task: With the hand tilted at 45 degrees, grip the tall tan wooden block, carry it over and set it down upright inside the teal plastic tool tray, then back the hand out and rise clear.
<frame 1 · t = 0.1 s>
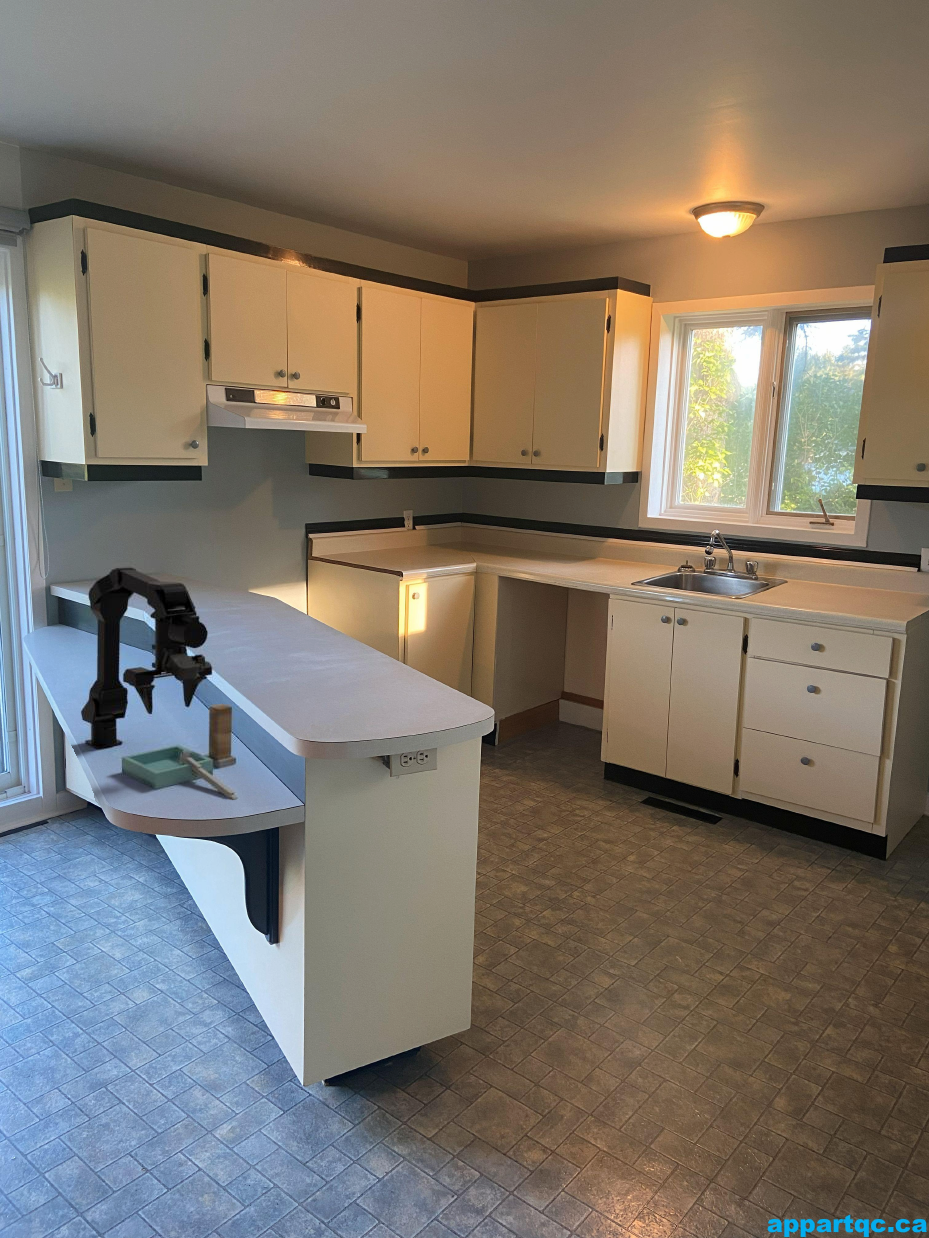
hand: (168, 710, 195), 15 cm above the table, tool pointing down, fingers open, 9 cm apart
tall tan wooden block: (219, 762, 207), on the table
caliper: (207, 788, 191), on the table, touching tool tray
tool tray: (167, 773, 197), on the table
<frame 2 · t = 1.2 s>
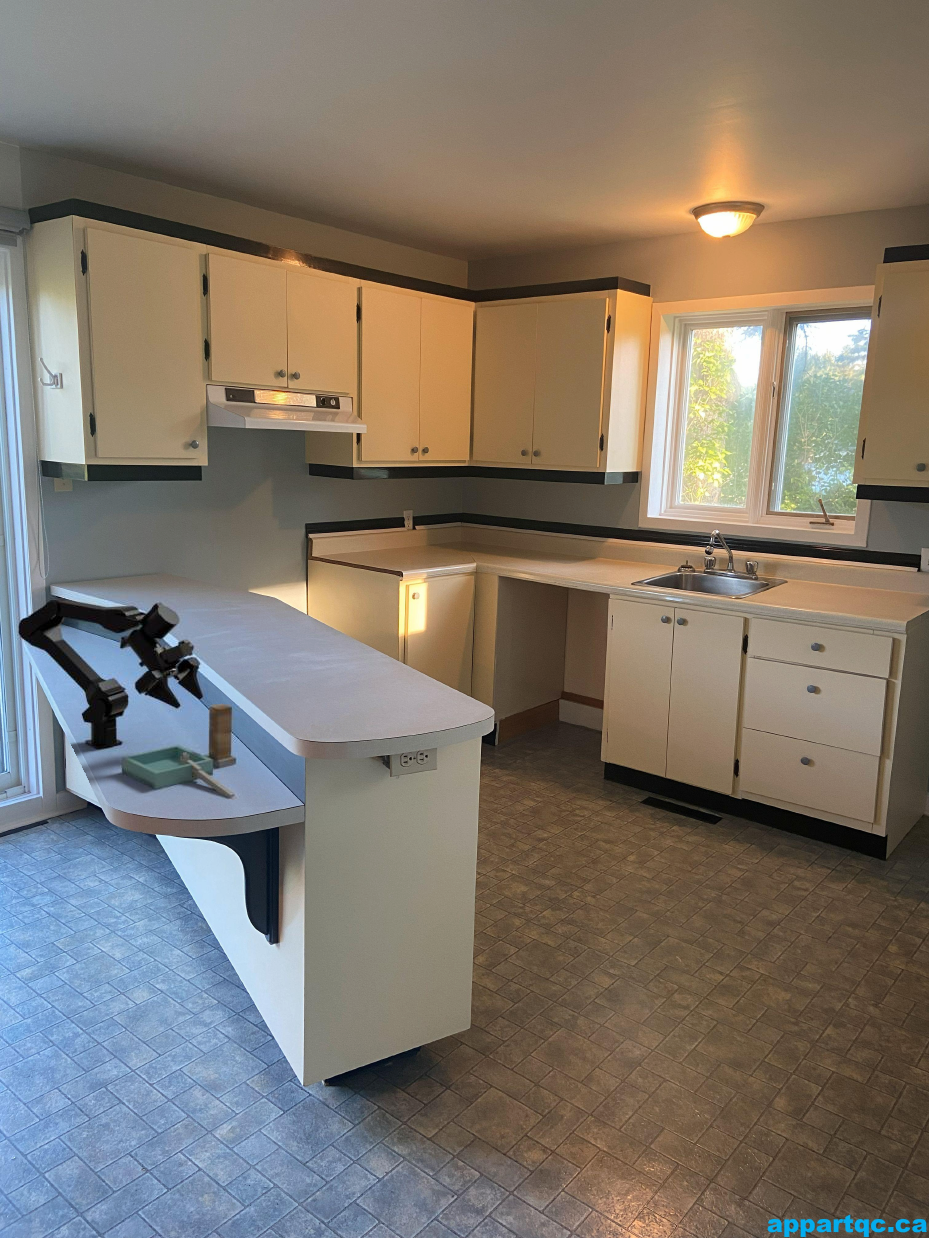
hand: (190, 702, 207), 13 cm above the table, tool tilted 45°, fingers open, 9 cm apart
nothing on the table moved.
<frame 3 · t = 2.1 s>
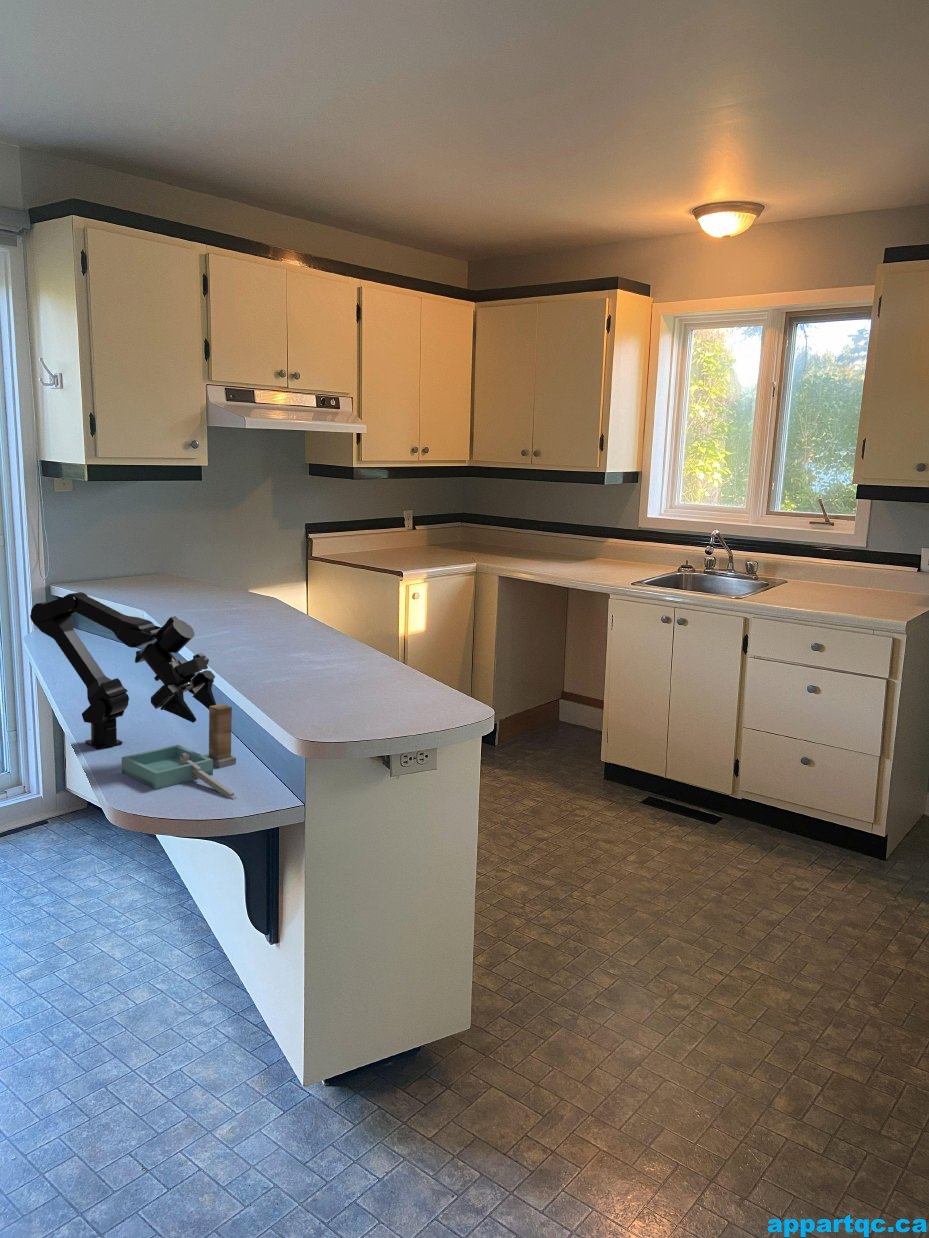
hand: (206, 716, 206), 11 cm above the table, tool tilted 45°, fingers open, 9 cm apart
nothing on the table moved.
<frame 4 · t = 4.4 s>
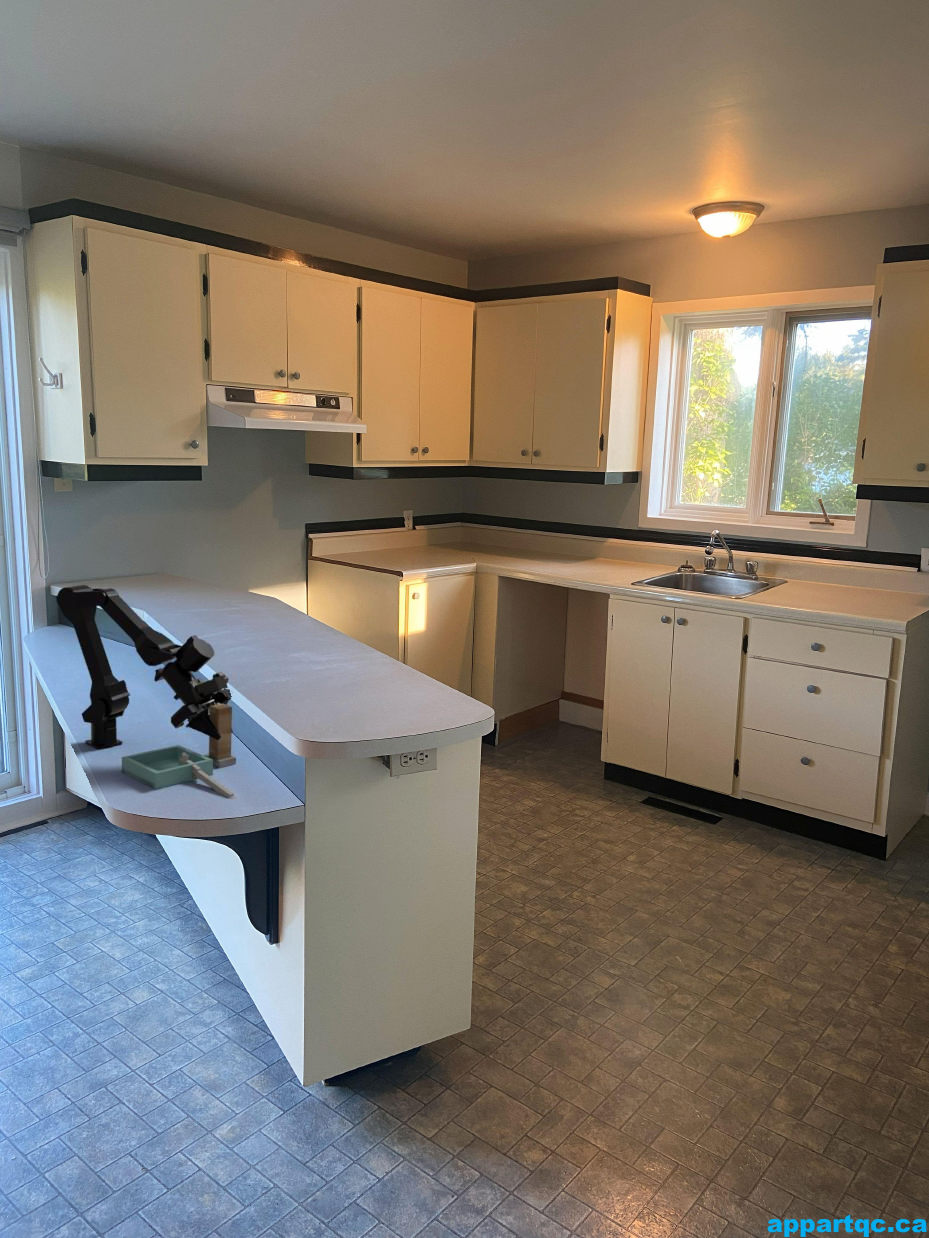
hand: (225, 735, 205), 7 cm above the table, tool tilted 45°, fingers closed on tall tan wooden block, 5 cm apart
tall tan wooden block: (219, 762, 207), on the table, touching gripper
everything else where it was.
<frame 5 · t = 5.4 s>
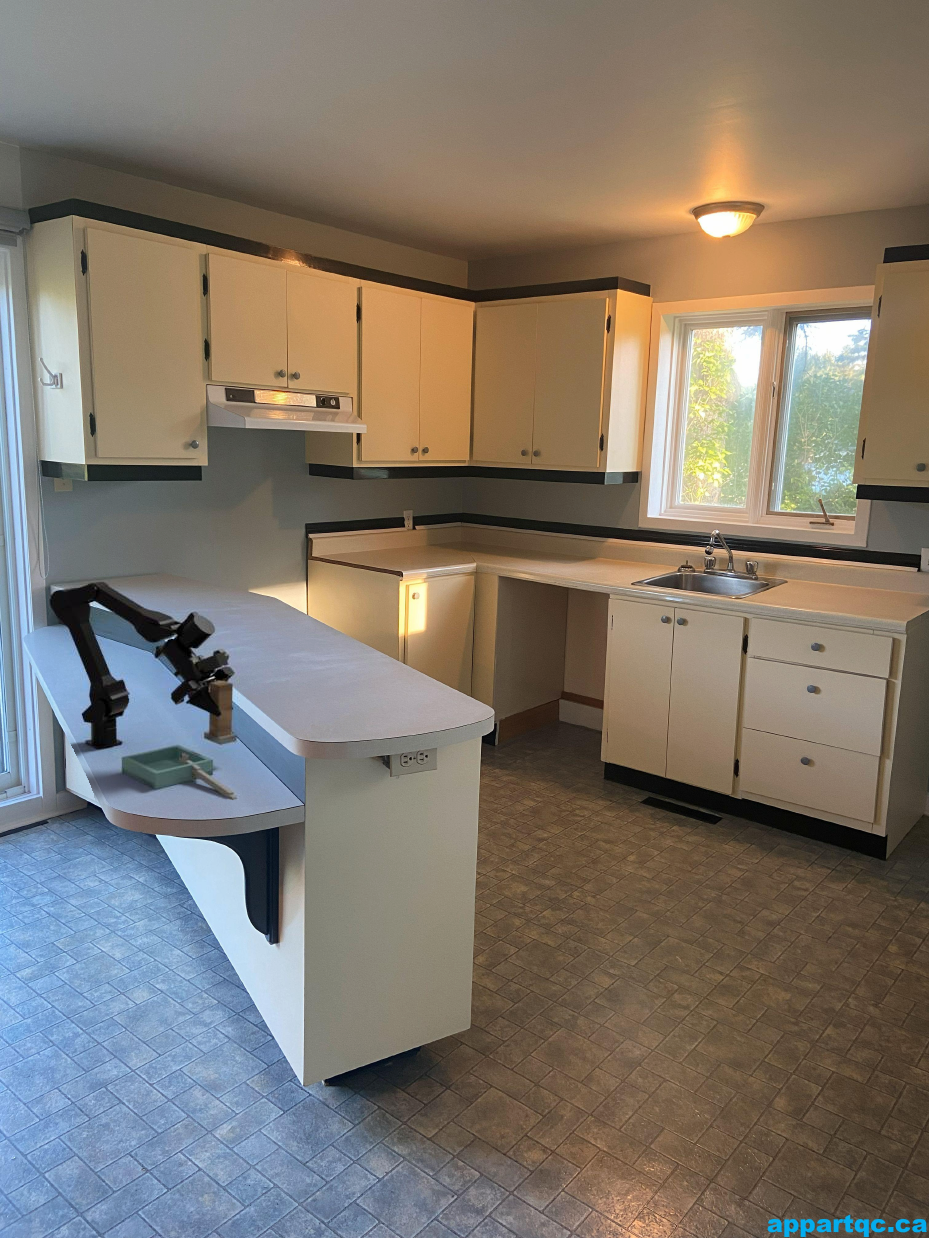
hand: (225, 713, 204), 12 cm above the table, tool tilted 45°, fingers closed on tall tan wooden block, 5 cm apart
tall tan wooden block: (220, 739, 206), point 5 cm above the table, touching gripper
everything else where it was.
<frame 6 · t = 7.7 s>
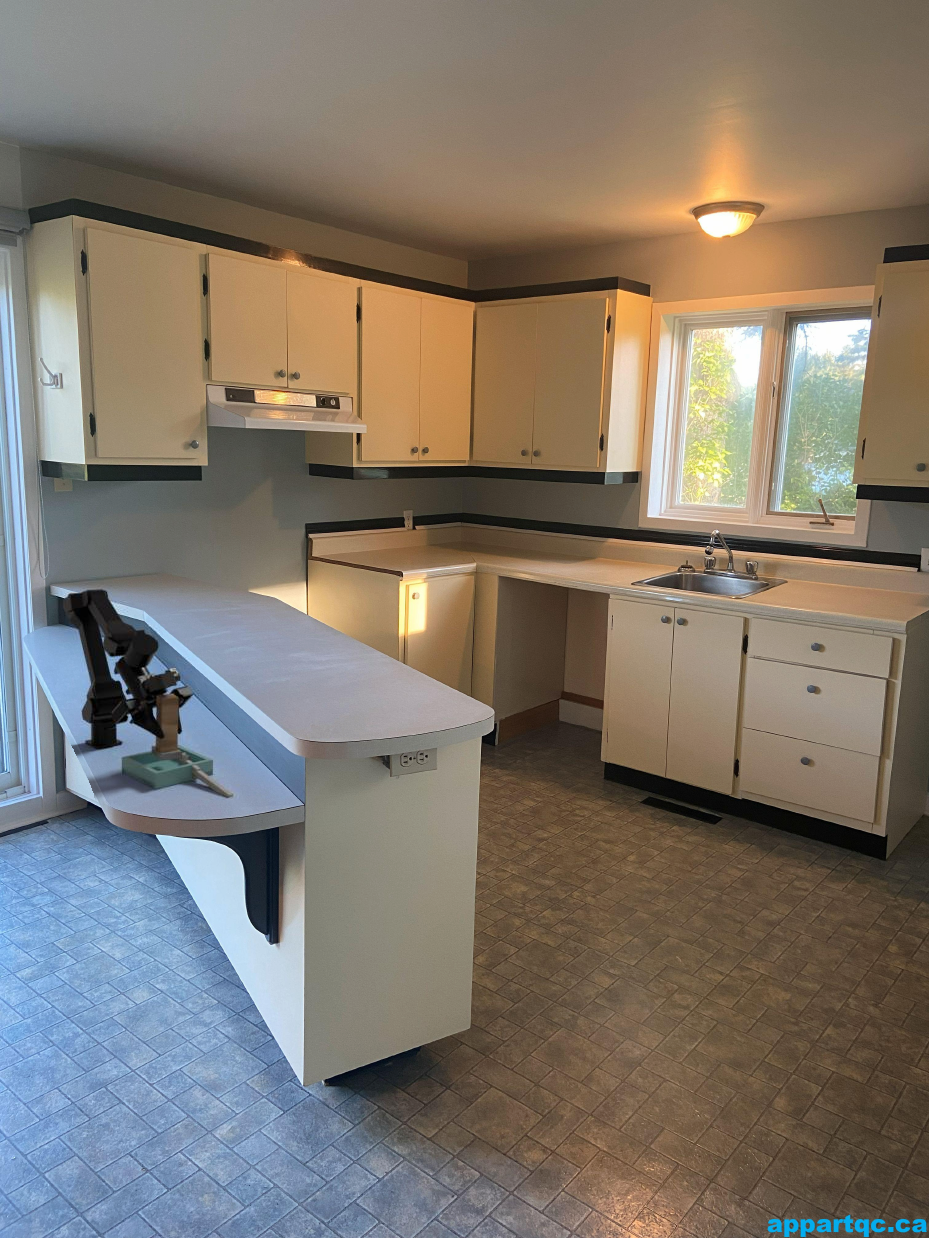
hand: (171, 735, 195), 9 cm above the table, tool tilted 45°, fingers closed on tall tan wooden block, 5 cm apart
tall tan wooden block: (166, 755, 197), point 4 cm above the table, touching gripper
everything else where it was.
when the fingers open (9 cm above the table, at t = 8.1 s): tall tan wooden block drops 3 cm, resting on tool tray.
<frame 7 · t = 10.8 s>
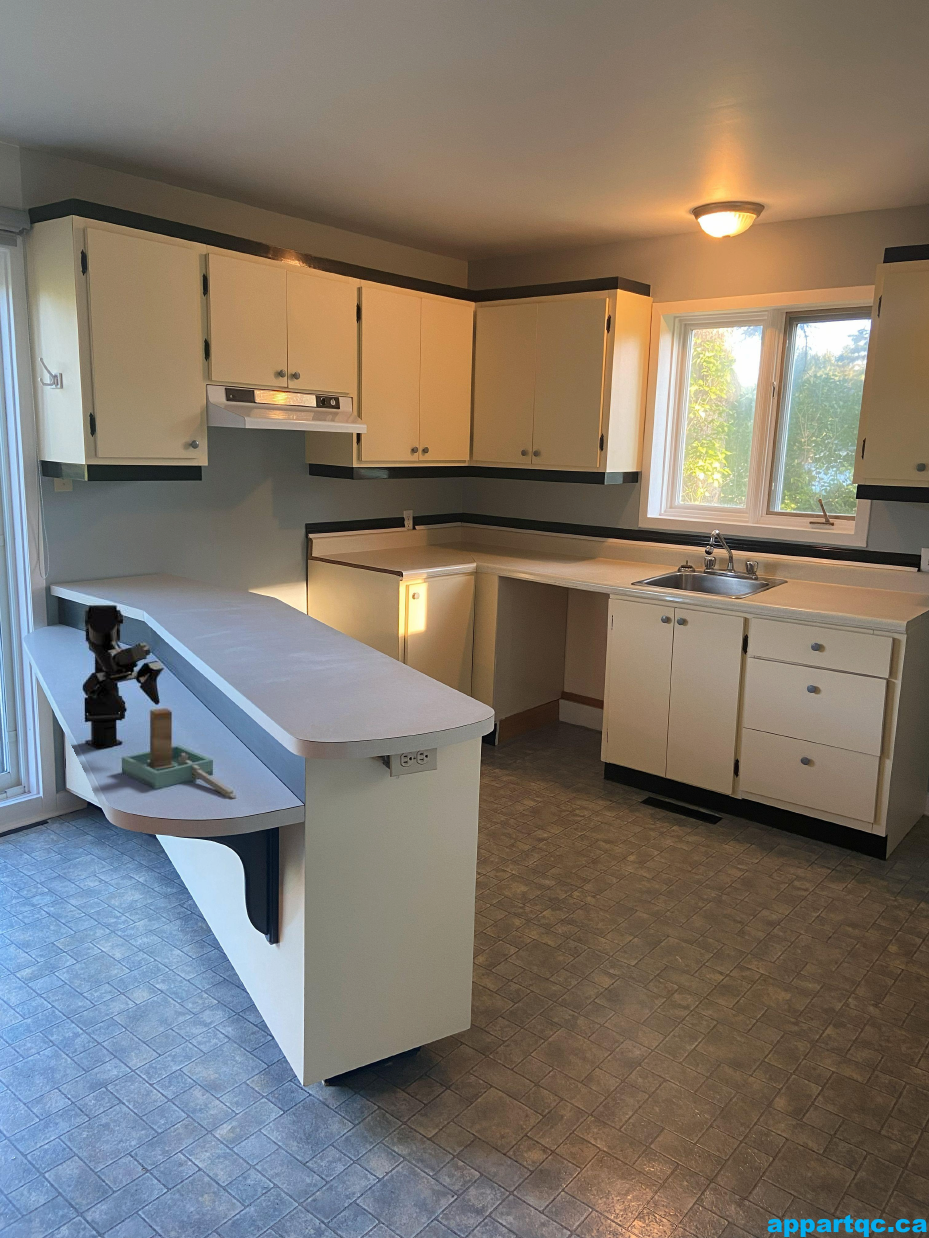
hand: (142, 707, 201), 13 cm above the table, tool tilted 45°, fingers open, 9 cm apart
tall tan wooden block: (160, 769, 197), point 1 cm above the table, touching tool tray
everything else where it was.
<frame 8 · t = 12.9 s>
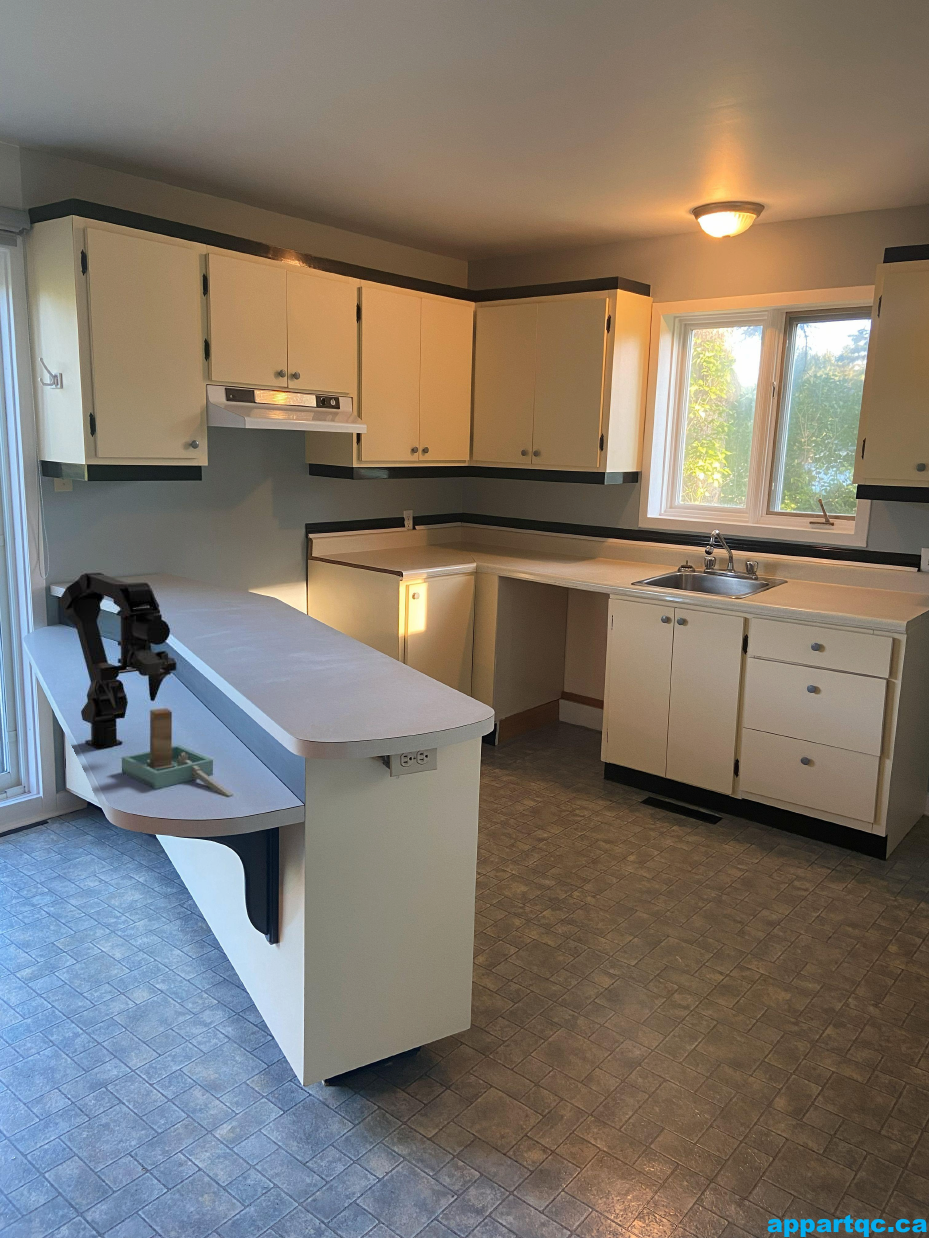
hand: (134, 703, 204), 13 cm above the table, tool pointing down, fingers open, 9 cm apart
at the end: tall tan wooden block inside the target area on the tool tray (1.4 cm from its centre), point 1.0 cm above the tool tray's base; tall tan wooden block tilted 0°; the gripper is holding nothing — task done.
